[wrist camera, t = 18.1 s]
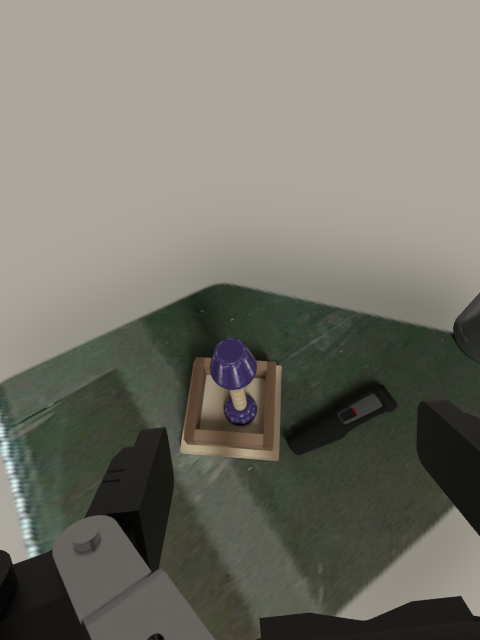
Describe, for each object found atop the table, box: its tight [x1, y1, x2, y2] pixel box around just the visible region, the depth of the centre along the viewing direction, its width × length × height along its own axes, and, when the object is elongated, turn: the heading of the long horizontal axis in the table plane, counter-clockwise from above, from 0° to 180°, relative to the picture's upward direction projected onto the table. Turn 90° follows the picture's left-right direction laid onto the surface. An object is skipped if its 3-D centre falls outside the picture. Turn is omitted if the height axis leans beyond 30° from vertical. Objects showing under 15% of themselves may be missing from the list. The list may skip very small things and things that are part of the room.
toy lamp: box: [210, 338, 257, 426], centre depth 41 cm, size 5×5×17 cm
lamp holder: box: [180, 357, 282, 461], centre depth 48 cm, size 12×12×4 cm
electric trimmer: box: [287, 385, 398, 455], centre depth 47 cm, size 4×16×3 cm, turn 116°
